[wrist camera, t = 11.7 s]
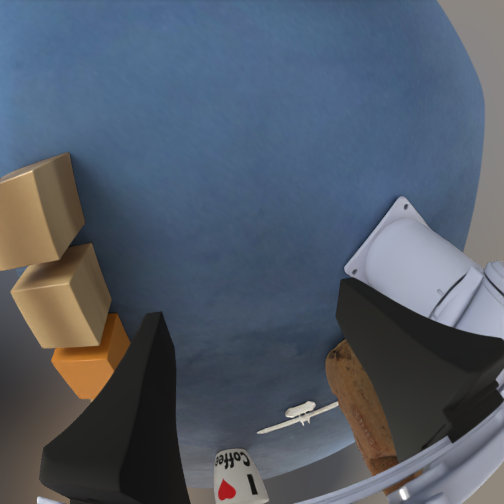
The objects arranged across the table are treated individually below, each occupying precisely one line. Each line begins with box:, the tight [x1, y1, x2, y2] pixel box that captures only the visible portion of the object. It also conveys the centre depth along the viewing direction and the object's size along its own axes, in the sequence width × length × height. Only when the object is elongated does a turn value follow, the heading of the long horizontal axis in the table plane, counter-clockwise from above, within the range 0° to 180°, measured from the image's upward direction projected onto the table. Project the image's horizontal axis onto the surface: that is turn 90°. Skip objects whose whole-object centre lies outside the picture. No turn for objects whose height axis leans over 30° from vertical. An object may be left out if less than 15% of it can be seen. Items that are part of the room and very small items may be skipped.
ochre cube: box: [51, 313, 131, 399], centre depth 19 cm, size 5×5×5 cm
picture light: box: [257, 401, 339, 434], centre depth 33 cm, size 14×4×2 cm, turn 108°
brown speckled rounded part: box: [325, 339, 423, 497], centre depth 21 cm, size 11×8×20 cm
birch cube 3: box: [0, 152, 85, 271], centre depth 13 cm, size 5×5×5 cm
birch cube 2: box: [11, 243, 112, 348], centre depth 16 cm, size 5×5×5 cm
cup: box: [214, 449, 269, 504], centre depth 34 cm, size 8×8×10 cm
